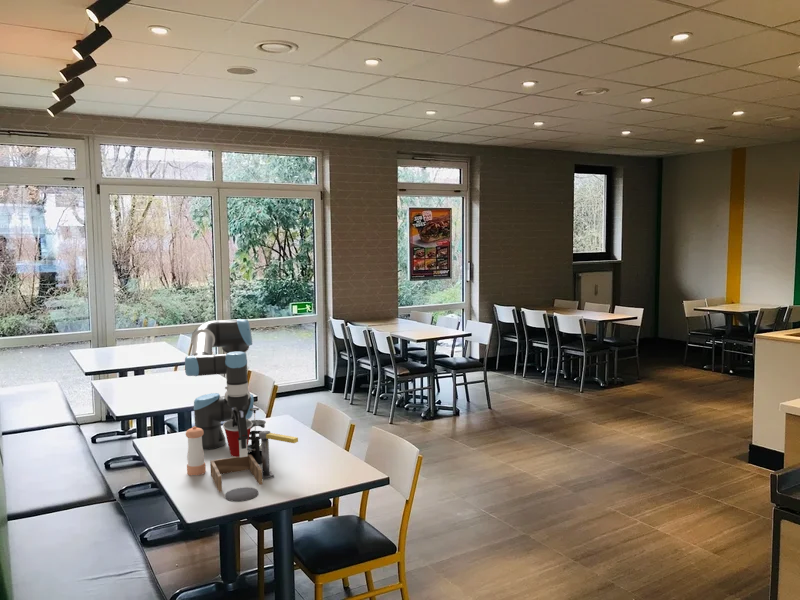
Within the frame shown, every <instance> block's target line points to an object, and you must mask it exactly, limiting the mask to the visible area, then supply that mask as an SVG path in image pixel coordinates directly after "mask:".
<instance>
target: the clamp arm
mask: <svg viewBox="0 0 800 600" xmlns="http://www.w3.org/2000/svg"><path fill="white" fill-rule="evenodd" d="M260 431H261V432H259V434H258V436H259V438H260V439H259V440H261V439H268V440H274V441H279V442H285V443H290V444H296V443H299V437H297V436H291V435H285V434H278V433H273V432H271V431H270V430H260Z"/></svg>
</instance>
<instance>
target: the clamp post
mask: <svg viewBox="0 0 800 600" xmlns="http://www.w3.org/2000/svg"><path fill="white" fill-rule="evenodd" d="M260 441H261V443H260V444H261V446H262V464H261V467H262V468H261V469H262V480H268V479H273V478H275V474H274V473H273V472H272V471H270V447H269V446H270V443H269V441H270V440H269V439H260Z"/></svg>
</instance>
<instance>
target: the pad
mask: <svg viewBox="0 0 800 600" xmlns="http://www.w3.org/2000/svg"><path fill="white" fill-rule="evenodd" d="M258 496H259V490H258V489H256V488H254V487H250V486H249V487H248V486H246V487H244V486H243V487H237V488H234V489H230V490H228V491H227V492H225V495H224V498H225V499H226V500H227V501H231V502H245V501H246V502H247V501H250V500H252V499H256V497H258Z"/></svg>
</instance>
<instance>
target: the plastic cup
mask: <svg viewBox="0 0 800 600" xmlns="http://www.w3.org/2000/svg"><path fill="white" fill-rule="evenodd" d="M232 421H233V419H232V420H228V421H224V422H223V424H222V427H223V429H224V431H225V435H226V436H225V438H226V442H227V445H228V446H227V447H228V449H229V453H230V457H240V453H239V440H238V438H240V437H239V431H238V430H233V429H238V426H234V427H233V425H232ZM246 425H247V432H248V439H247V447H248V445H249V441H250V440H249V437H250V436H251V435H250V432H251V431H252V430H251V429H252V428H251V427H252V425H253V423H252V421H251V419H246ZM243 436H245V435H243Z"/></svg>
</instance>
